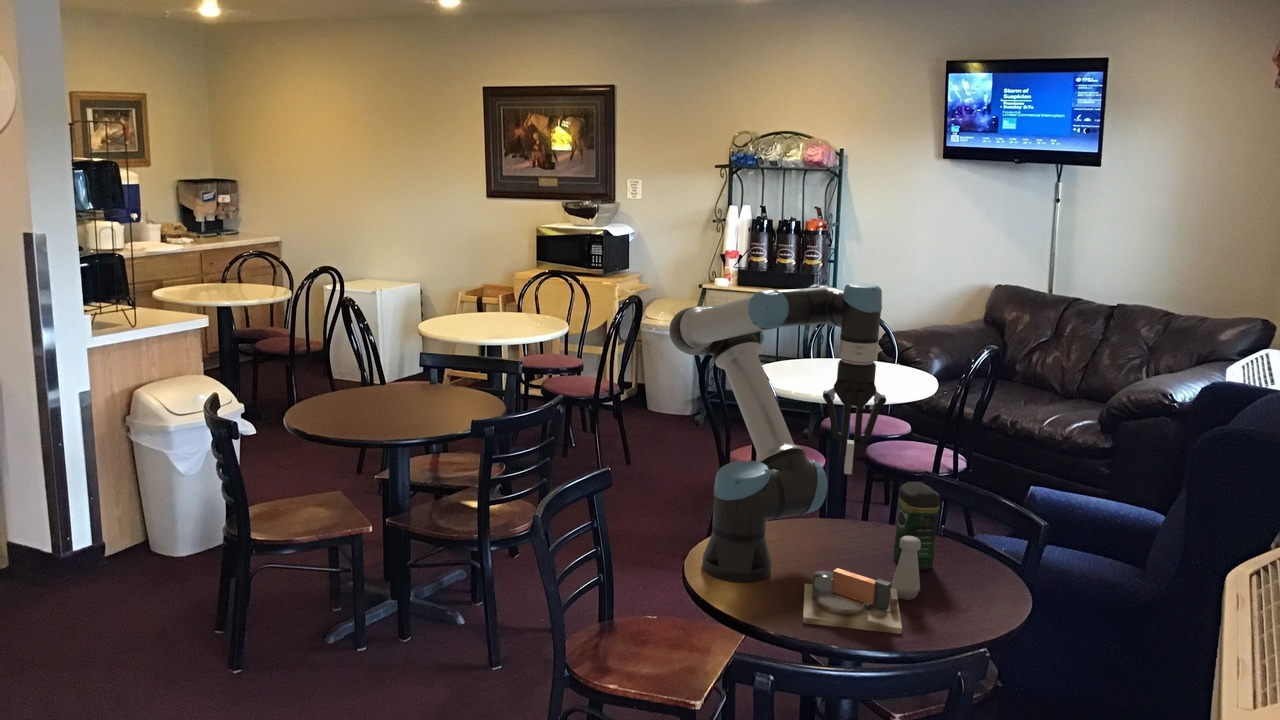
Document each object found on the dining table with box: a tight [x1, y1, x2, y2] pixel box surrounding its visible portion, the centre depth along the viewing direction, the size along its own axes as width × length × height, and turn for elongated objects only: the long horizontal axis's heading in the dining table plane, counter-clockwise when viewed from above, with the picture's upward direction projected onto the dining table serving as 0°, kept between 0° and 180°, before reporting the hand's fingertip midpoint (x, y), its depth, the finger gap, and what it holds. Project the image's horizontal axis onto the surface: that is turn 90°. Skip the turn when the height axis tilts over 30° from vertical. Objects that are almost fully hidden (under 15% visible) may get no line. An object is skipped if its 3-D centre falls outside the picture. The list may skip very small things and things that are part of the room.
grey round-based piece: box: [812, 567, 892, 615], centre depth 210 cm, size 10×16×7 cm, turn 52°
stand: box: [802, 583, 903, 635], centre depth 212 cm, size 19×16×4 cm
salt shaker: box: [891, 536, 921, 601], centre depth 219 cm, size 6×6×13 cm
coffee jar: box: [892, 481, 941, 572], centre depth 235 cm, size 10×8×19 cm
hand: (847, 471), depth 216 cm, fingers closed
